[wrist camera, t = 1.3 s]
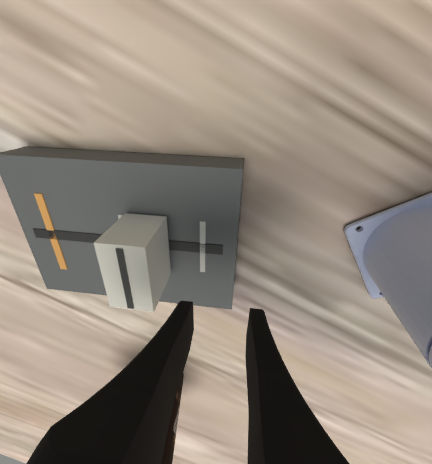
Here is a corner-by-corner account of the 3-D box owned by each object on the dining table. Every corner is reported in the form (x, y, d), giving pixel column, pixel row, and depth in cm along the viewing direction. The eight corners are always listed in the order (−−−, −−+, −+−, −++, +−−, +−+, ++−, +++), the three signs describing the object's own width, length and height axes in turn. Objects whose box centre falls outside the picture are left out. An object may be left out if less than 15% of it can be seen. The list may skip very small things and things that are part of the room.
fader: (166, 216, 17) (144, 248, 13) (170, 273, 19) (153, 313, 16) (125, 213, 17) (92, 243, 14) (134, 269, 20) (109, 308, 16)
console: (244, 158, 18) (243, 169, 15) (233, 285, 24) (231, 310, 21) (27, 146, 19) (-10, 154, 17) (68, 268, 25) (46, 289, 22)
